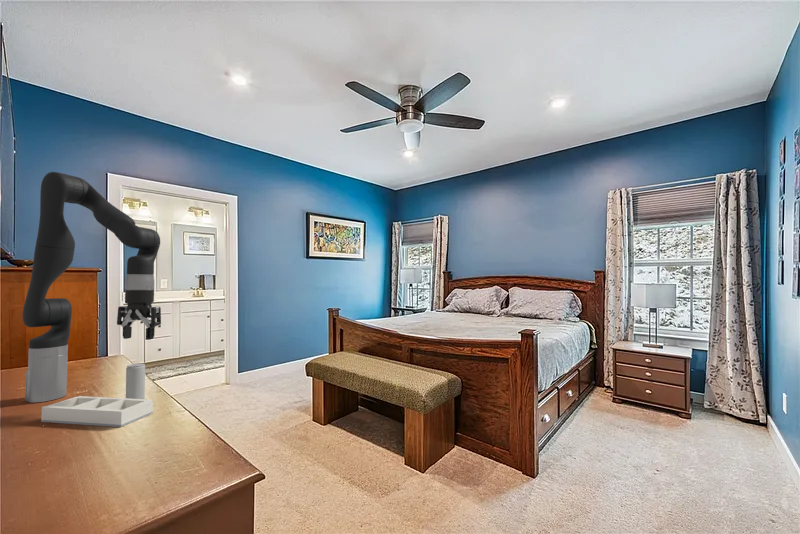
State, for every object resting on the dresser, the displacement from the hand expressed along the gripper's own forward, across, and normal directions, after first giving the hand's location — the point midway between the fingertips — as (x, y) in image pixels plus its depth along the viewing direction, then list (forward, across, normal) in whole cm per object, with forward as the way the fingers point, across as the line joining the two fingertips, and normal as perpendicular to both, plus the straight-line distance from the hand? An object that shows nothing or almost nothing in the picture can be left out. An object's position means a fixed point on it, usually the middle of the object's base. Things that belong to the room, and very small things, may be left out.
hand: (138, 338), depth 110 cm
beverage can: (+20, 0, -1) cm, 20 cm away
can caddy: (+20, +1, -13) cm, 24 cm away
